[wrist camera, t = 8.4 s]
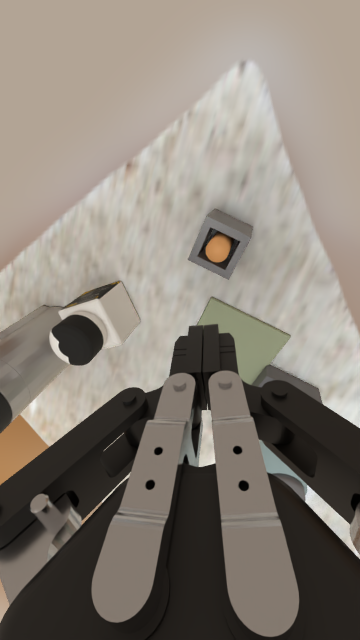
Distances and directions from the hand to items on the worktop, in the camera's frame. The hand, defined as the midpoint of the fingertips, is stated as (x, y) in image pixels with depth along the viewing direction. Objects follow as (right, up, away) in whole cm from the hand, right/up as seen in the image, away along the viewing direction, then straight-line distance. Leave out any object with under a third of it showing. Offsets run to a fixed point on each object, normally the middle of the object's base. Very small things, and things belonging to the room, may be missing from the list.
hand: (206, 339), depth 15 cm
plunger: (+4, +11, +19) cm, 22 cm away
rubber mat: (+6, -3, +27) cm, 28 cm away
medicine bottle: (-12, +3, +29) cm, 32 cm away
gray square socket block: (+4, +11, +20) cm, 23 cm away
